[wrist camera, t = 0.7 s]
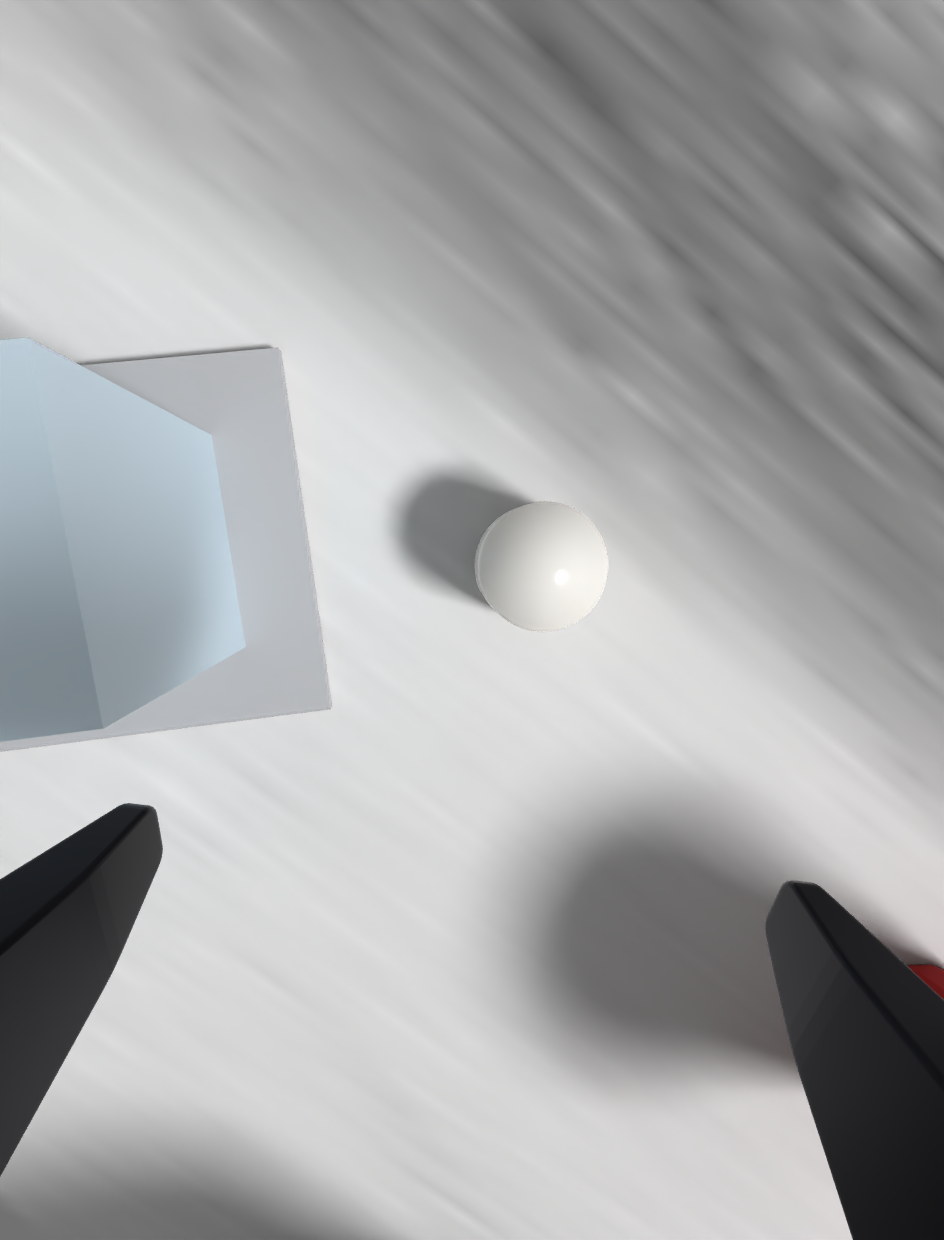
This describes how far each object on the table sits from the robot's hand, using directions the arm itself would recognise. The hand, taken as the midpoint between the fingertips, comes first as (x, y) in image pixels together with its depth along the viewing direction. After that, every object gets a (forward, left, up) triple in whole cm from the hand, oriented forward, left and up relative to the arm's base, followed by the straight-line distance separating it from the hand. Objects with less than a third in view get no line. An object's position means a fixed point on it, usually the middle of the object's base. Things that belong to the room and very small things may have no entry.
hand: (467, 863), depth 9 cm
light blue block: (+1, +11, -13) cm, 17 cm away
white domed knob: (+5, -2, -13) cm, 14 cm away
